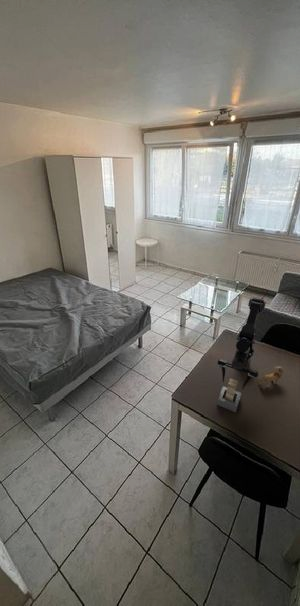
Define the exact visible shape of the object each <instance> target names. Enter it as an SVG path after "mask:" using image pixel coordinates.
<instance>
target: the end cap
mask: <svg viewBox="0 0 300 606" xmlns="http://www.w3.org/2000/svg"><path fill="white" fill-rule="evenodd" d="M226 392H227V387H226V386H222V388H221V391H220V393H219V396H218V398H217V403H216V405H217V406H218V407H222V408H224V409H225V410H229V411H231V412H234V413H236V412H237V409H238V406H239V402H240V400H241V395H242V392H240V391H237V390H235V394H234V399H233V402H230V401H228V400H225V397H226Z"/></svg>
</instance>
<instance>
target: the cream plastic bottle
mask: <svg viewBox="0 0 300 606" xmlns="http://www.w3.org/2000/svg"><path fill="white" fill-rule="evenodd" d="M238 381H239V380H235V379H233V378H229V381H228V383H227V387H226V388H227V392H226V397H225V400H228V401H230V402H233V399H234V394H235V391H237V385H238Z"/></svg>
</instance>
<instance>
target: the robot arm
mask: <svg viewBox="0 0 300 606" xmlns="http://www.w3.org/2000/svg"><path fill="white" fill-rule="evenodd" d="M266 304H267V303H266V301H265V299H262V298H258V297H252V298H249V300H248V305H247V306H248V308H249V314H248V316H247V319H246V323H245V324H244V325H243V326H242V327H241V330H239V331H238V335H237V336H236V341H237V342H236V344H235V347H236V350H235V353H234V356H233V357H234V358H232V362H231V363H229V362H228V361H227V360H224V359H222V358H219V359H218V361H217V365H218V366H219V368H221V373H222V383H224V381H225V378H226V373H227V368H230V369H233V370H236V371H240V372H241V373H245V374H247V375H246V378H245V379H244V382H243V384H242V387H241V389H242V390H244V389H245V387H246V385H247V384H248V383H249V381H250V380H251V379H254V378H256V379H257V378H258V375H259V372H258V370H253V369H251V368H249V369H248V367H249V363H250V362H251V358H252V356H254V353H255V349H254V344H255V343H256V340H257V336H256V335H257V334H255V333H256V325H257V320H258V317H259V314H261V312H263V310H265V308H266Z"/></svg>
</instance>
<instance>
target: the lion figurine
mask: <svg viewBox="0 0 300 606" xmlns="http://www.w3.org/2000/svg"><path fill="white" fill-rule="evenodd" d="M283 373H284V370H283V367H282V366H278V365H277V366H274V371H273V373H271V374H264V375H263V376H262V378H261V379H260V381H259V383H258V385H259V389H261V388H262V384H263V382H265V387H266V388H267V389H268V388H270V386H269V383H270V382H273V381H274V384H276V385H277V384H278V381H279V379H281V377H282V376H283Z"/></svg>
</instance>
